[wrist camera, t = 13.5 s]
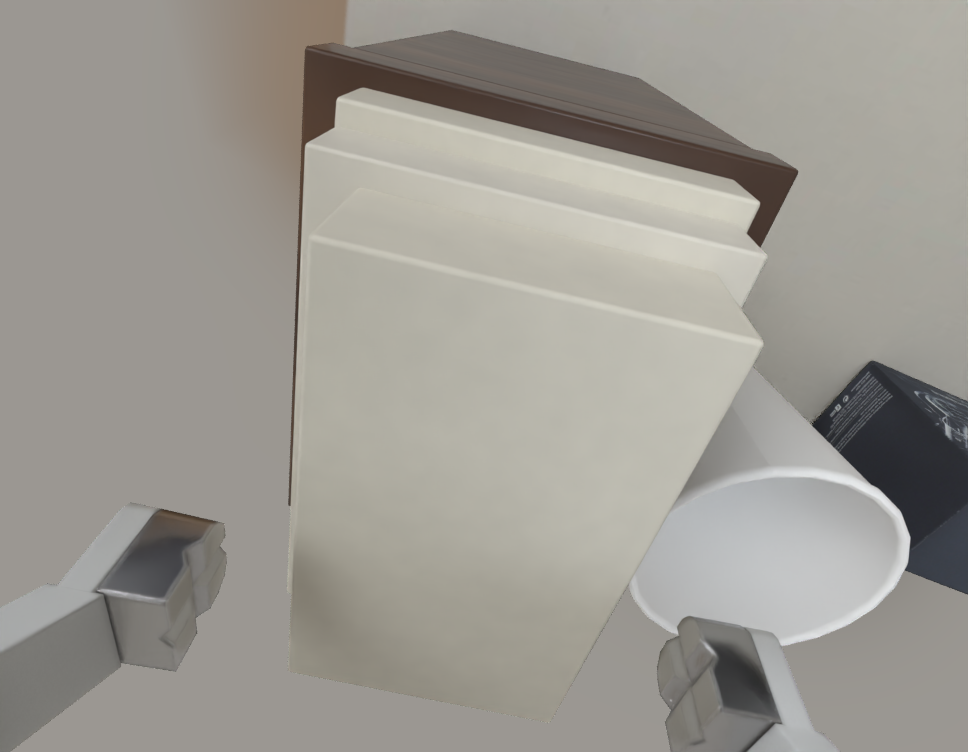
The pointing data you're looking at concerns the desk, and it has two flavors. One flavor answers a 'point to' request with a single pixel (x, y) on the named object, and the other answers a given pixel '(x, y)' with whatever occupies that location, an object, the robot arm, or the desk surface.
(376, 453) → the ivory book
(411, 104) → the white books
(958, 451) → the small box
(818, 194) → the desk surface
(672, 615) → the cup
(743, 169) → the walnut shelf
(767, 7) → the desk surface
